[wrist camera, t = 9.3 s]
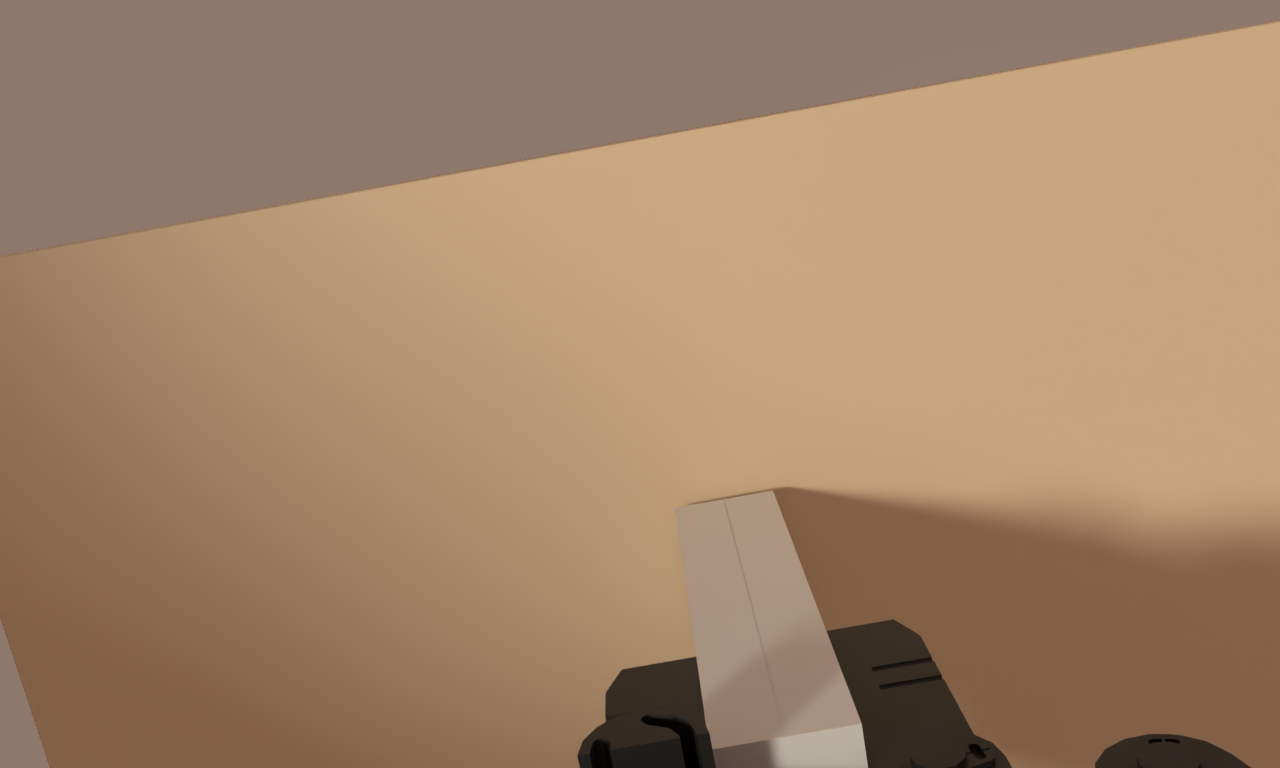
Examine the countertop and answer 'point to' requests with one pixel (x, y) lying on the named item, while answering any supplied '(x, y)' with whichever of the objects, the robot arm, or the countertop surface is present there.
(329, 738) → the carton lid
